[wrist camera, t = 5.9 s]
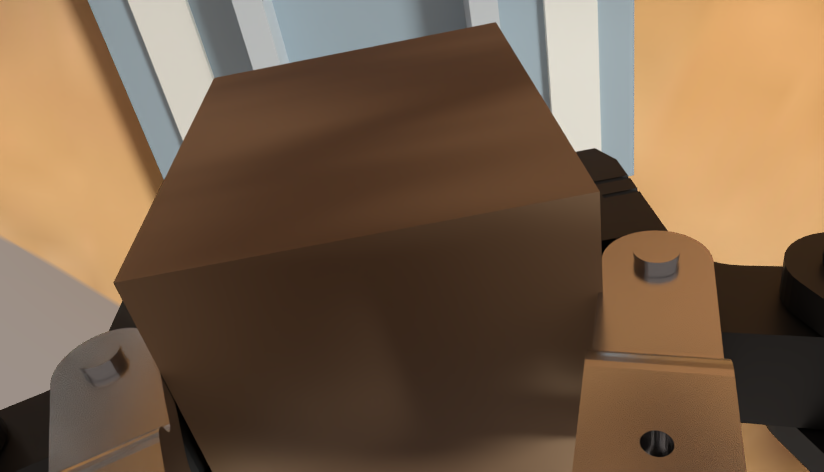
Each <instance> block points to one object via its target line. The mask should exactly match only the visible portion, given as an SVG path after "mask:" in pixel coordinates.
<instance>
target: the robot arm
mask: <svg viewBox="0 0 824 472" xmlns="http://www.w3.org/2000/svg"><path fill="white" fill-rule="evenodd" d="M576 153H577V155H578V157H579V158H580V160H581V162H582V163H583V165H584V167H585V168H586V170H587V171H588V173H589V175H590V176H591V178H592V180H593V181H594V183H595V184H596V186H597V188H598V189H599V191H600V214H601V247H602V280H603V292H599V293H598V297H597V307H596V316H595V326H594V336H593V345H592V350H587V352H586V356H585V363H584V371H583V380H582V389H581V397H580V406H579V415H578V424H577V432H576V441H575V450H574V459H573V468H572V472H746V464H745V456H744V448H743V439H742V431H741V423H751V424H762V425H766V426H767V428H768V429H769V431H770V432H771V433H772V434H773V435H774V436H775V437H776V438H777V439H778V440H779V441H780V442H781V443H782V444H783V445H784V446H785V447H786V448H787V449H788V450H789V451H790V452H791V453H792V454H793V455H794V456H795V457H796V458H797V459H798V460H799V461H800V462H801V463H802V464H803V465H804V466H805V467H806V468H807V469H808V470H809V471H810V472H824V233H817V234H812V235H809V236H805V237H803V238H801V239H798V240H797V241H795V242H794V243H792V244H791V245H790V246H789V247H788V248H787V250H786V252H785V256H784V262H783V267H780V266H740V265H728V264H721V263H717V262H714V261H713V257H712V255H711V253H710V252H709V250H708V249H707V248H706V247H705V246H704V245H703V244H701V243H700V242H698V241H697V240H695V239H693V238H691V237H688V236H686V235H683V234H679V233H675V232H669V231H667V229H666V228H665V226H664V225H663V224H662V222H661V221H660V219H659V218H658V217H657V215H656V214H655V212H654V211H653V210H652V208H651V207H650V205H649V204H648V203H647V201H646V200H645V198H644V197H643V196H642V194H641V193H640V191H639V192H638V191H637V187H636V186H635V184H634V183H633V182H632V180H631V179H630V178H629V179H628V175H627V173H626V172H625V170H624V169H623V168H622V166H621V165H620V163H619V162H618V161H617V159H615V158H613V157H611V156H609V155H607V154H605V153H603V152H601V151H599V150H597V149H596V148H593V149H587V150H582V151H577V152H576ZM0 472H212V470H211V468H210V466H209V465H208V463H207V461H206V459H205V457H204V455H203V453H202V451H201V449H200V447H199V445H198V444H197V442H196V440H195V438H194V436H193V434H192V432H191V430H190V428H189V426H188V424H187V422H186V421H185V419H184V417H183V415H182V413H181V411H180V409H179V407H178V405H177V403H176V401H175V400H174V398H173V396H172V394H171V392H170V390H169V388H168V386H167V384H166V382H165V380H164V379H163V377H162V375H161V373H160V371H159V369H158V367H157V365H156V363H155V361H154V359H153V358H152V356H151V354H150V352H149V350H148V348H147V346H146V344H145V342H144V340H143V338H142V337H141V335H140V333H139V331H138V329H137V327H136V325H135V323H134V321H133V319H132V317H131V315H130V314H129V312H128V310H127V308H126V306H125V304H124V302H123V301H122V303H121V305H120V308H119V310H118V312H117V314H116V316H115V319H114V321H113V323H112V325H111V327H110V330H109V331H108V332H105V333H102V334H100V335H98V336H95V337H93V338H91V339H90V340H87V341H86V342H84V343H82V344H81V345H79V346H78V347H77V348H75V349H74V350H72V351H71V352H70V353H69V354H68V355H67V356H66V357H65V358H64V359H63V360H62V361H61V362H60V363H59V365H58V366H57V367H56V369H55V371H54V373H53V375H52V378H51V383H50V390H49V391H46V392H44V393H42V394H39V395H37V396H34V397H32V398H29V399H27V400H24V401H22V402H19V403H17V404H15V405H12V406H9V407H7V408H5V409H2V410H0Z"/></svg>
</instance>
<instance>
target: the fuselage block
mask: <svg viewBox="0 0 824 472" xmlns="http://www.w3.org/2000/svg"><path fill="white" fill-rule="evenodd" d="M114 285H115V287H116V289H117V291H118V293H119V294H120V296H121V298H122V300H123V302H124V304H125V306H126V308H127V310H128V312H129V314H130V315H131V317H132V319H133V321H134V323H135V325H136V327H137V329H138V331H139V333H140V335H141V337H142V338H143V340H144V342H145V344H146V346H147V348H148V350H149V352H150V354H151V356H152V358H153V359H154V361H155V363H156V365H157V367H158V369H159V371H160V373H161V375H162V377H163V379H164V380H165V382H166V384H167V386H168V388H169V390H170V392H171V394H172V396H173V398H174V400H175V401H176V403H177V405H178V407H179V409H180V411H181V413H182V415H183V417H184V419H185V421H186V422H187V424H188V426H189V428H190V430H191V432H192V434H193V436H194V438H195V440H196V442H197V444H198V445H199V447H200V449H201V451H202V453H203V455H204V457H205V459H206V461H207V463H208V465H209V466H210V468H211V470H212V472H572V468H573V459H574V450H575V441H576V432H577V424H578V415H579V406H580V397H581V389H582V380H583V371H584V363H585V356H586V352H587V350H592V345H593V336H594V326H595V316H596V307H597V297H598V293H599V292H603V280H602V247H601V214H600V191H599V189H598V188H597V186H596V184H595V183H594V181H593V180H592V178H591V176H590V175H589V173H588V171H587V170H586V168H585V167H584V165H583V163H582V162H581V160H580V158H579V157H578V155H577V153H576V152H575V150H574V149H573V147H572V145H571V144H570V142H569V140H568V139H567V137H566V136H565V134H564V132H563V131H562V129H561V127H560V126H559V124H558V122H557V121H556V119H555V118H554V116H553V114H552V113H551V111H550V109H549V108H548V106H547V105H546V103H545V101H544V100H543V98H542V96H541V95H540V93H539V92H538V90H537V88H536V87H535V85H534V83H533V82H532V80H531V78H530V77H529V75H528V74H527V72H526V70H525V69H524V67H523V65H522V64H521V62H520V61H519V59H518V57H517V56H516V54H515V52H514V51H513V49H512V47H511V46H510V44H509V43H508V41H507V39H506V38H505V36H504V34H503V33H502V31H501V30H500V28H499V26H498V25H497V23H496V22H494V23H489V24H484V25H479V26H474V27H469V28H464V29H459V30H454V31H449V32H443V33H438V34H433V35H428V36H423V37H418V38H413V39H408V40H403V41H398V42H393V43H388V44H383V45H378V46H373V47H368V48H363V49H358V50H353V51H348V52H343V53H337V54H332V55H327V56H322V57H317V58H312V59H307V60H302V61H297V62H292V63H287V64H282V65H277V66H272V67H267V68H262V69H257V70H252V71H247V72H242V73H237V74H231V75H226V76H221V77H216V78H214V79H213V81H212V83H211V85H210V87H209V89H208V91H207V93H206V95H205V97H204V100H203V102H202V104H201V106H200V108H199V110H198V112H197V114H196V116H195V118H194V120H193V122H192V124H191V126H190V128H189V130H188V132H187V134H186V136H185V138H184V140H183V142H182V144H181V146H180V148H179V150H178V152H177V155H176V157H175V159H174V161H173V163H172V165H171V167H170V169H169V171H168V173H167V175H166V177H165V179H164V181H163V183H162V185H161V187H160V189H159V191H158V193H157V195H156V197H155V199H154V201H153V203H152V205H151V207H150V209H149V212H148V214H147V216H146V218H145V220H144V222H143V224H142V226H141V228H140V230H139V232H138V234H137V236H136V238H135V240H134V242H133V244H132V246H131V248H130V250H129V252H128V254H127V256H126V258H125V260H124V262H123V264H122V266H121V269H120V271H119V273H118V275H117V277H116V279H115V281H114Z"/></svg>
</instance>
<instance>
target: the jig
mask: <svg viewBox="0 0 824 472" xmlns="http://www.w3.org/2000/svg"><path fill="white" fill-rule="evenodd" d="M88 3H89V5H90V7H91V10H92V12H93V14H94V17H95V19H96V21H97V24H98V26H99V28H100V31H101V33H102V35H103V38H104V40H105V42H106V45H107V47H108V50H109V52H110V54H111V57H112V59H113V61H114V64H115V66H116V68H117V71H118V73H119V75H120V78H121V80H122V82H123V85H124V87H125V89H126V92H127V94H128V97H129V99H130V101H131V104H132V106H133V108H134V111H135V113H136V115H137V118H138V120H139V122H140V125H141V127H142V129H143V132H144V134H145V136H146V139H147V141H148V144H149V146H150V148H151V151H152V153H153V155H154V158H155V160H156V162H157V165H158V167H159V169H160V172H161V174H162V176H163V179H165V177H166V175H167V173H168V171H169V169H170V167H171V165H172V163H173V161H174V159H175V157H176V155H177V152H178V150H179V148H180V146H181V144H182V142H183V140H184V138H185V136H186V134H187V132H188V130H189V128H190V126H191V124H192V122H193V120H194V118H195V116H196V114H197V112H198V110H199V108H200V106H201V104H202V102H203V100H204V97H205V95H206V93H207V91H208V89H209V87H210V85H211V83H212V81H213V79H214V78H216V77H221V76H226V75H231V74H237V73H242V72H247V71H252V70H257V69H262V68H267V67H272V66H277V65H282V64H287V63H292V62H297V61H302V60H307V59H312V58H317V57H322V56H327V55H332V54H337V53H343V52H348V51H353V50H358V49H363V48H368V47H373V46H378V45H383V44H388V43H393V42H398V41H403V40H408V39H413V38H418V37H423V36H428V35H433V34H438V33H443V32H449V31H454V30H459V29H464V28H469V27H474V26H479V25H484V24H489V23H494V22H496V23H497V25H498V26H499V28H500V30H501V31H502V33H503V34H504V36H505V38H506V39H507V41H508V43H509V44H510V46H511V47H512V49H513V51H514V52H515V54H516V56H517V57H518V59H519V61H520V62H521V64H522V65H523V67H524V69H525V70H526V72H527V74H528V75H529V77H530V78H531V80H532V82H533V83H534V85H535V87H536V88H537V90H538V92H539V93H540V95H541V96H542V98H543V100H544V101H545V103H546V105H547V106H548V108H549V109H550V111H551V113H552V114H553V116H554V118H555V119H556V121H557V122H558V124H559V126H560V127H561V129H562V131H563V132H564V134H565V136H566V137H567V139H568V140H569V142H570V144H571V145H572V147H573V149H574V150H575V152H577V151H582V150H587V149H593V148H596V149H597V150H599V151H601V152H603V153H605V154H607V155H609V156H611V157H613V158H615V159H617V161H618V162H619V163H620V165H621V166H622V168H623V169H624V170H625V172H626V173H627V175H628V176H632V175H634V0H88Z"/></svg>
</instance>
